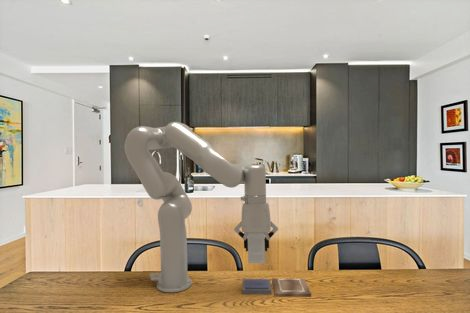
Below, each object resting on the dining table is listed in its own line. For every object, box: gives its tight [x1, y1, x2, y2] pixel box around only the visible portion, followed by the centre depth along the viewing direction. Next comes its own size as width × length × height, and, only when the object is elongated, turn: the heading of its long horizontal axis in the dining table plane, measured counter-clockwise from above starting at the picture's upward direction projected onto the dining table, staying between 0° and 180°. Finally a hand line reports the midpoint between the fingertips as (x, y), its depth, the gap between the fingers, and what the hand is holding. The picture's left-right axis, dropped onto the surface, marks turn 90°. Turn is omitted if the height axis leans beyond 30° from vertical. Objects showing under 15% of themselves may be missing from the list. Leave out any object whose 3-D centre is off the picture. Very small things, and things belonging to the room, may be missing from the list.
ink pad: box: [241, 278, 273, 295], centre depth 111 cm, size 10×9×2 cm
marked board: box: [271, 278, 312, 298], centre depth 110 cm, size 12×12×1 cm
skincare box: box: [247, 233, 266, 264], centre depth 110 cm, size 6×4×12 cm
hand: (256, 249), depth 110 cm, fingers closed on skincare box, 6 cm apart
